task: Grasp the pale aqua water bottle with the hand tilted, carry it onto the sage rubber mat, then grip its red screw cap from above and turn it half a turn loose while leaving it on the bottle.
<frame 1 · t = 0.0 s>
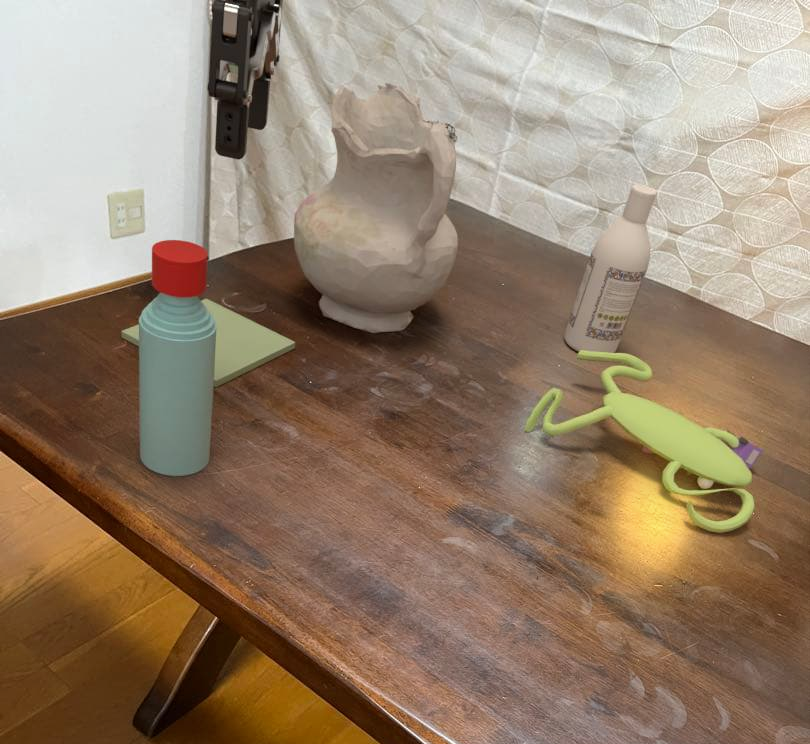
hand: (241, 141, 69), 25 cm above the table, tool pointing down, fingers open, 8 cm apart
cap: (179, 254, 65), point 19 cm above the table, screwed on, not yet turned
ceramic pitcher: (370, 315, 106), on the table
figurine: (639, 450, 93), on the table
bath foam: (588, 347, 111), on the table
bottle: (175, 456, 77), on the table
mat: (210, 343, 93), on the table
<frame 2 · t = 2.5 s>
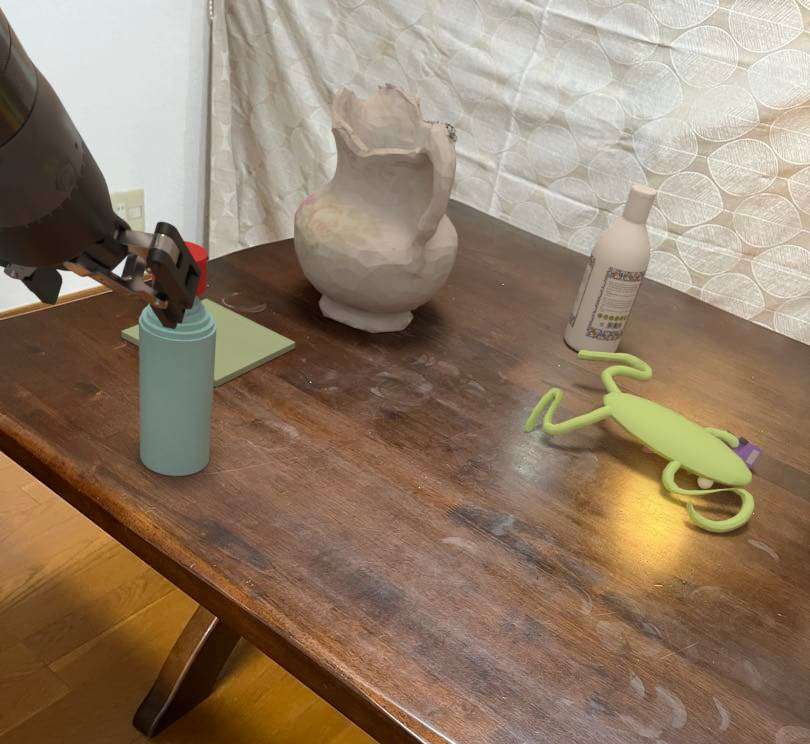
hand: (113, 303, 59), 18 cm above the table, tool tilted 40°, fingers open, 8 cm apart
nothing on the table moved.
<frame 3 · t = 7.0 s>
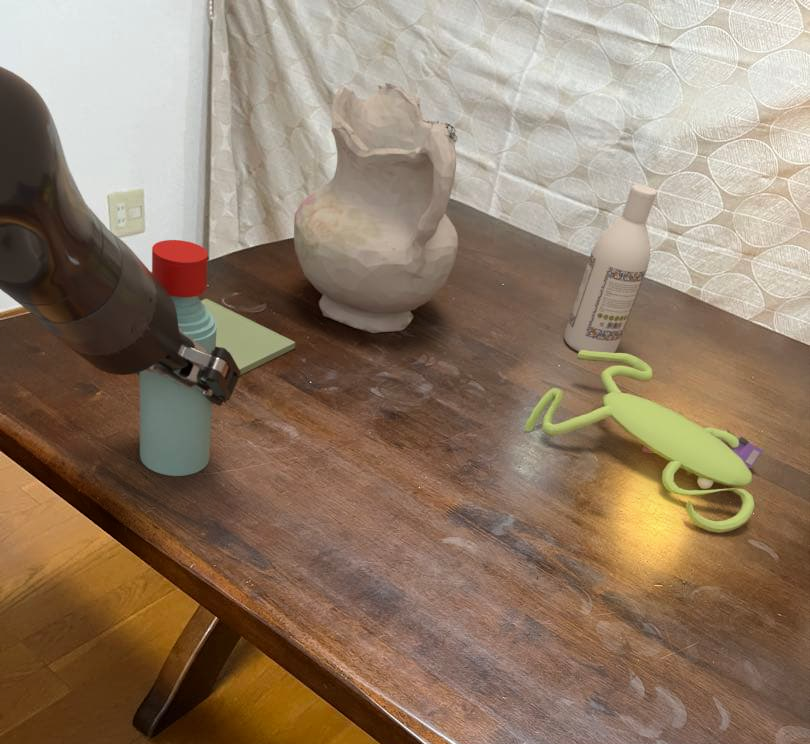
hand: (186, 381, 74), 7 cm above the table, tool tilted 45°, fingers closed on bottle, 6 cm apart
bottle: (175, 456, 77), on the table, touching gripper
everything else where it was.
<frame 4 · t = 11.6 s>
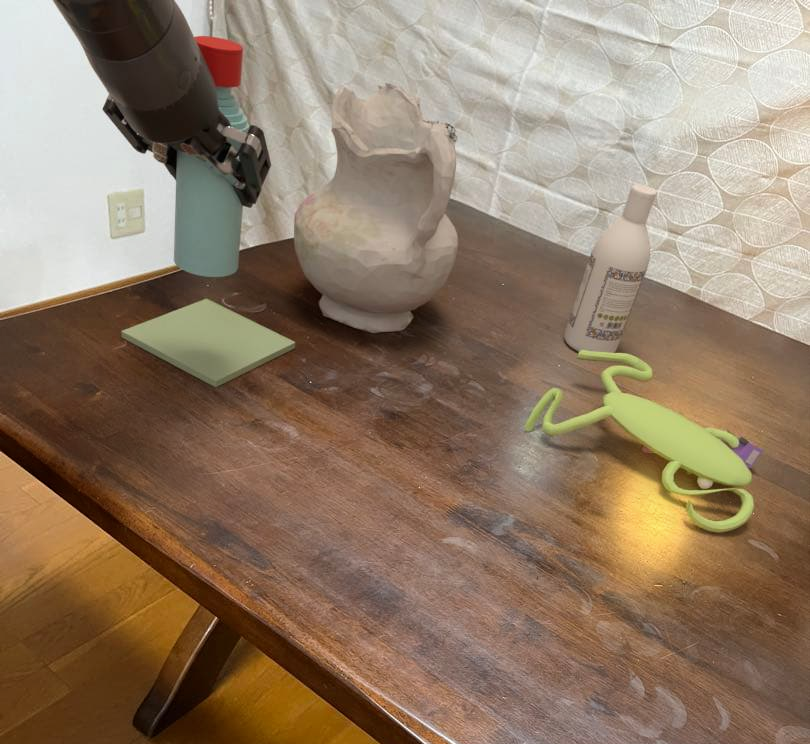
hand: (218, 187, 80), 18 cm above the table, tool tilted 45°, fingers closed on bottle, 6 cm apart
cap: (217, 47, 71), point 30 cm above the table, screwed on, not yet turned
bottle: (206, 263, 83), point 11 cm above the table, touching gripper
everything else where it was.
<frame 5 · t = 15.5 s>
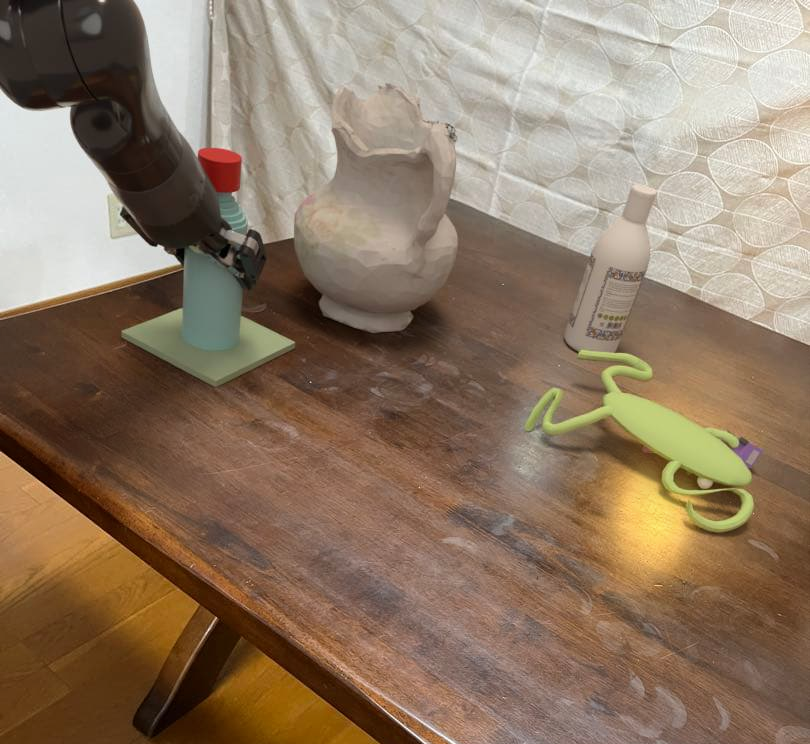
hand: (221, 272, 90), 8 cm above the table, tool tilted 45°, fingers closed on bottle, 6 cm apart
cap: (219, 158, 81), point 19 cm above the table, screwed on, not yet turned
bottle: (210, 337, 93), point 1 cm above the table, touching gripper, mat
everything else where it was.
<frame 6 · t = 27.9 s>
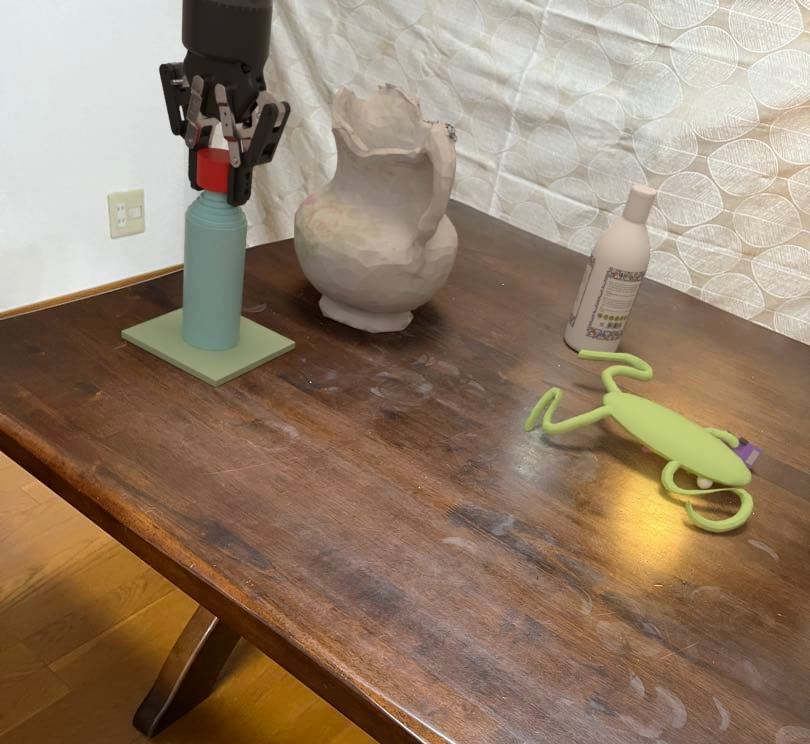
hand: (218, 195, 83), 16 cm above the table, tool pointing down, fingers closed on cap, 4 cm apart
cap: (219, 158, 81), point 19 cm above the table, screwed on, not yet turned, touching gripper
bottle: (210, 337, 93), point 1 cm above the table, touching mat
everything else where it was.
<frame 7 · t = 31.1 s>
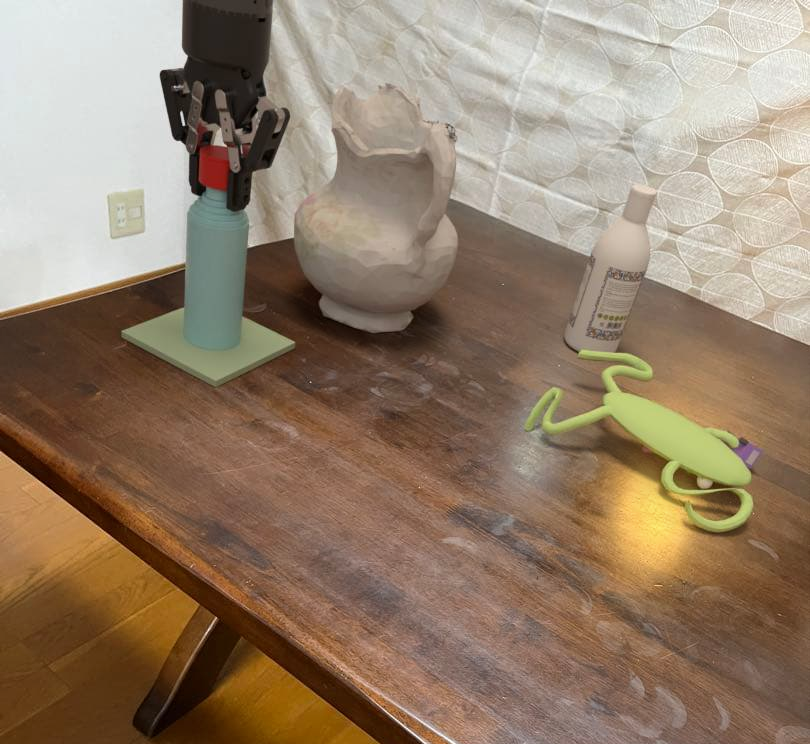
hand: (218, 200, 84), 15 cm above the table, tool pointing down, fingers closed on cap, 4 cm apart
cap: (221, 155, 81), point 20 cm above the table, turned 179° so far, risen 0.2 cm, still on its thread, touching gripper
everything else where it was.
when the fingers open (16 cm above the table, at t = 33.1 s): cap stays where it is, point 20 cm above the table.
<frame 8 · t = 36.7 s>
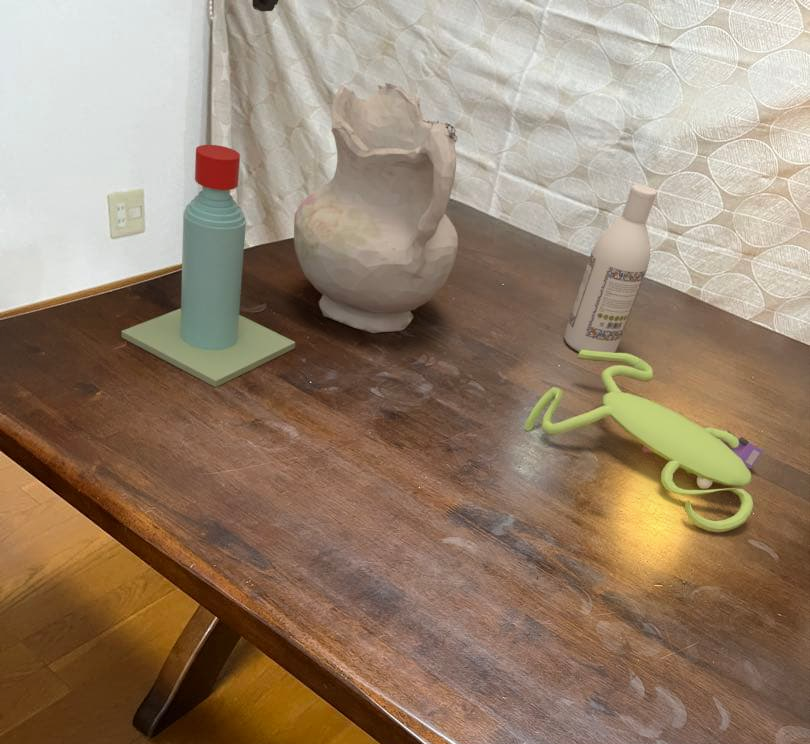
cap: (217, 155, 81), point 20 cm above the table, turned 179° so far, risen 0.2 cm, still on its thread
everything else where it was.
at the end: bottle inside the target area on the mat (0.2 cm from its centre), point 0.8 cm above the mat's base; cap turned 0.50 turns (still on its thread); cap is still on its thread (0.50 turns) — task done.
